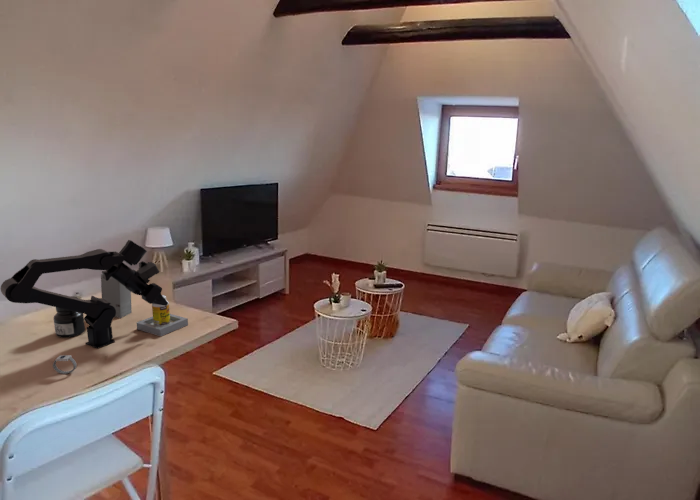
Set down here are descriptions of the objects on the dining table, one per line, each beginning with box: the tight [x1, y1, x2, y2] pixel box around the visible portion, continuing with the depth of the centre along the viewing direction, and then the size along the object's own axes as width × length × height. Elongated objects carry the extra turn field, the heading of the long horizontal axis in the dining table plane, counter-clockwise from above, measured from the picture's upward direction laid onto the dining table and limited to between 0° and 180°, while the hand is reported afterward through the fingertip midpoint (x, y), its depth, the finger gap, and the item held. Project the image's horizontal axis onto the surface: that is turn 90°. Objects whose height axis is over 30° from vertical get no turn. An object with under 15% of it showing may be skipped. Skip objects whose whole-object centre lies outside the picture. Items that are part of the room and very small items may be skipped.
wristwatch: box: [52, 354, 77, 375], centre depth 152 cm, size 6×3×5 cm, turn 92°
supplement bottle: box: [151, 294, 171, 327], centre depth 184 cm, size 6×6×10 cm
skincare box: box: [100, 273, 132, 319], centre depth 196 cm, size 8×7×16 cm
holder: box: [136, 313, 189, 337], centre depth 186 cm, size 12×12×2 cm
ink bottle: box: [53, 295, 86, 339], centre depth 179 cm, size 10×9×12 cm
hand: (161, 300), depth 184 cm, fingers open, 9 cm apart
